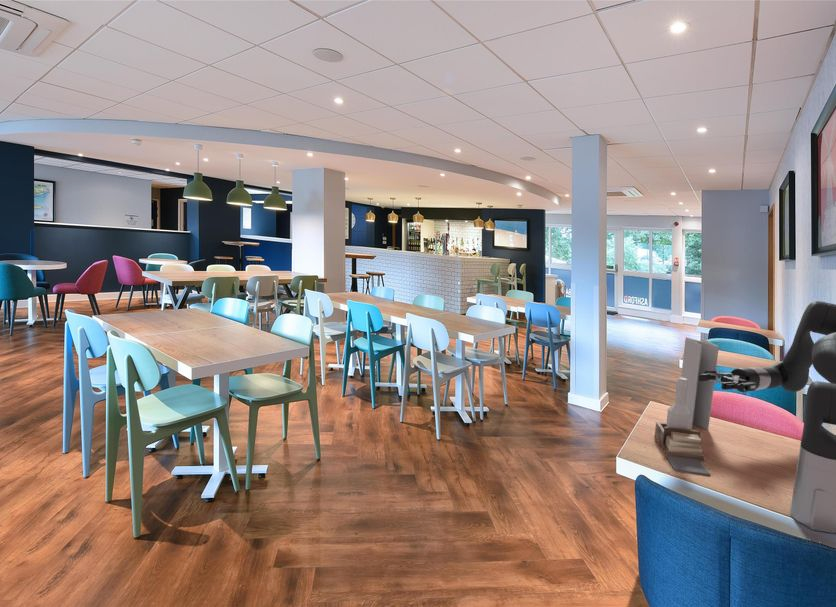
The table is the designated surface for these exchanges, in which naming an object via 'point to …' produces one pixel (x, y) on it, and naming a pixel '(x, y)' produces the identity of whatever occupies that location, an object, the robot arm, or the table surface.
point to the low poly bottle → (679, 407)
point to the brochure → (700, 392)
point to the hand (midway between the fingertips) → (710, 381)
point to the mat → (687, 465)
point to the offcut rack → (679, 441)
